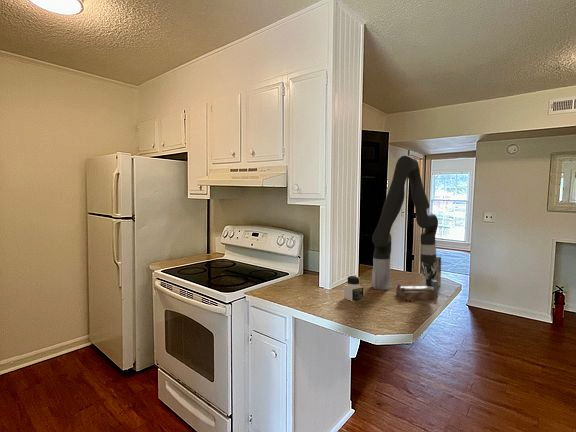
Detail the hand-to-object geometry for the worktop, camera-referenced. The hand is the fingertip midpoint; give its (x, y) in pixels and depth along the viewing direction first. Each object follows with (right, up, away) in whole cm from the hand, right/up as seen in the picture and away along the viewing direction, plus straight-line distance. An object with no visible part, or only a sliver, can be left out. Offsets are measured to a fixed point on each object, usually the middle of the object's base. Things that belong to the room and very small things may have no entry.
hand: (428, 285), depth 167 cm
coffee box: (+12, -4, +21) cm, 24 cm away
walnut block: (-7, -6, +1) cm, 9 cm away
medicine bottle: (-39, -7, -1) cm, 40 cm away
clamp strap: (-7, -2, 0) cm, 7 cm away
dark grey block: (+3, -6, +1) cm, 7 cm away
